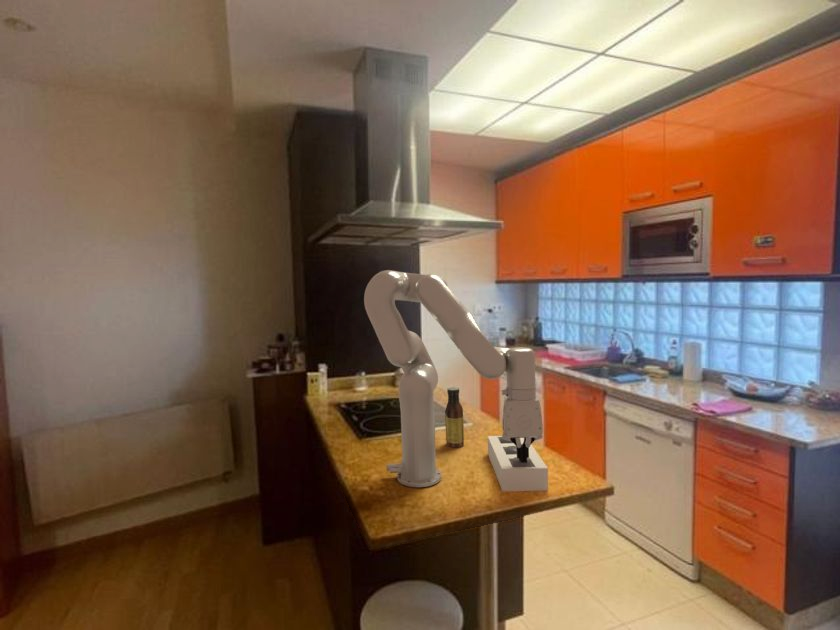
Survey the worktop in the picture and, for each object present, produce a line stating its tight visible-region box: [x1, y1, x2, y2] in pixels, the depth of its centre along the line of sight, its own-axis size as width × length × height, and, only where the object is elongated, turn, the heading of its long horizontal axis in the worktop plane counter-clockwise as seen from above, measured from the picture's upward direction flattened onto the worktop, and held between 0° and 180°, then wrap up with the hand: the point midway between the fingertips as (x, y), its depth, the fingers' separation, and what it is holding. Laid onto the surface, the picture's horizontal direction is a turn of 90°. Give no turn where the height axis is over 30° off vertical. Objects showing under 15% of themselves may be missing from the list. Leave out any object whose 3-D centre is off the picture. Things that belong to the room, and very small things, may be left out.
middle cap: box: [506, 446, 517, 455], centre depth 127 cm, size 5×5×6 cm
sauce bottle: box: [444, 387, 465, 448], centre depth 149 cm, size 7×6×20 cm
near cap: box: [512, 457, 531, 467], centre depth 118 cm, size 5×5×6 cm
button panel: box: [487, 435, 549, 492], centre depth 127 cm, size 12×26×6 cm, turn 179°
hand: (522, 460), depth 118 cm, fingers closed
